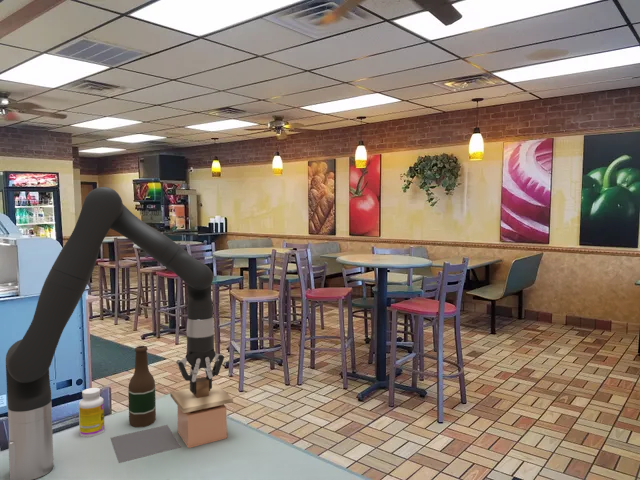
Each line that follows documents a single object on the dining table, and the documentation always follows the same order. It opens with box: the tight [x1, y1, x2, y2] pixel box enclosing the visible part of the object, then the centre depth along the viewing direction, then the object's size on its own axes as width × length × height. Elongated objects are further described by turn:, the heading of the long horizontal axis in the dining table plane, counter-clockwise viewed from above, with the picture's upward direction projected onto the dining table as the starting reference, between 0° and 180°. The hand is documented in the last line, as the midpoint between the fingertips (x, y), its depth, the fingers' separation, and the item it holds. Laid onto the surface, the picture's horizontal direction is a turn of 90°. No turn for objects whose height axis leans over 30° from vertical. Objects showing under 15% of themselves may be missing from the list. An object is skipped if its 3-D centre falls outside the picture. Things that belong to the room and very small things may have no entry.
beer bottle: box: [127, 345, 157, 428], centre depth 144 cm, size 8×8×24 cm
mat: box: [110, 424, 182, 464], centre depth 132 cm, size 16×16×1 cm
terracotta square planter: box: [176, 404, 228, 449], centre depth 136 cm, size 11×11×10 cm
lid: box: [169, 376, 234, 413], centre depth 135 cm, size 14×14×6 cm
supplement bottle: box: [78, 387, 105, 438], centre depth 138 cm, size 7×7×13 cm
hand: (201, 391), depth 135 cm, fingers closed on lid, 3 cm apart
